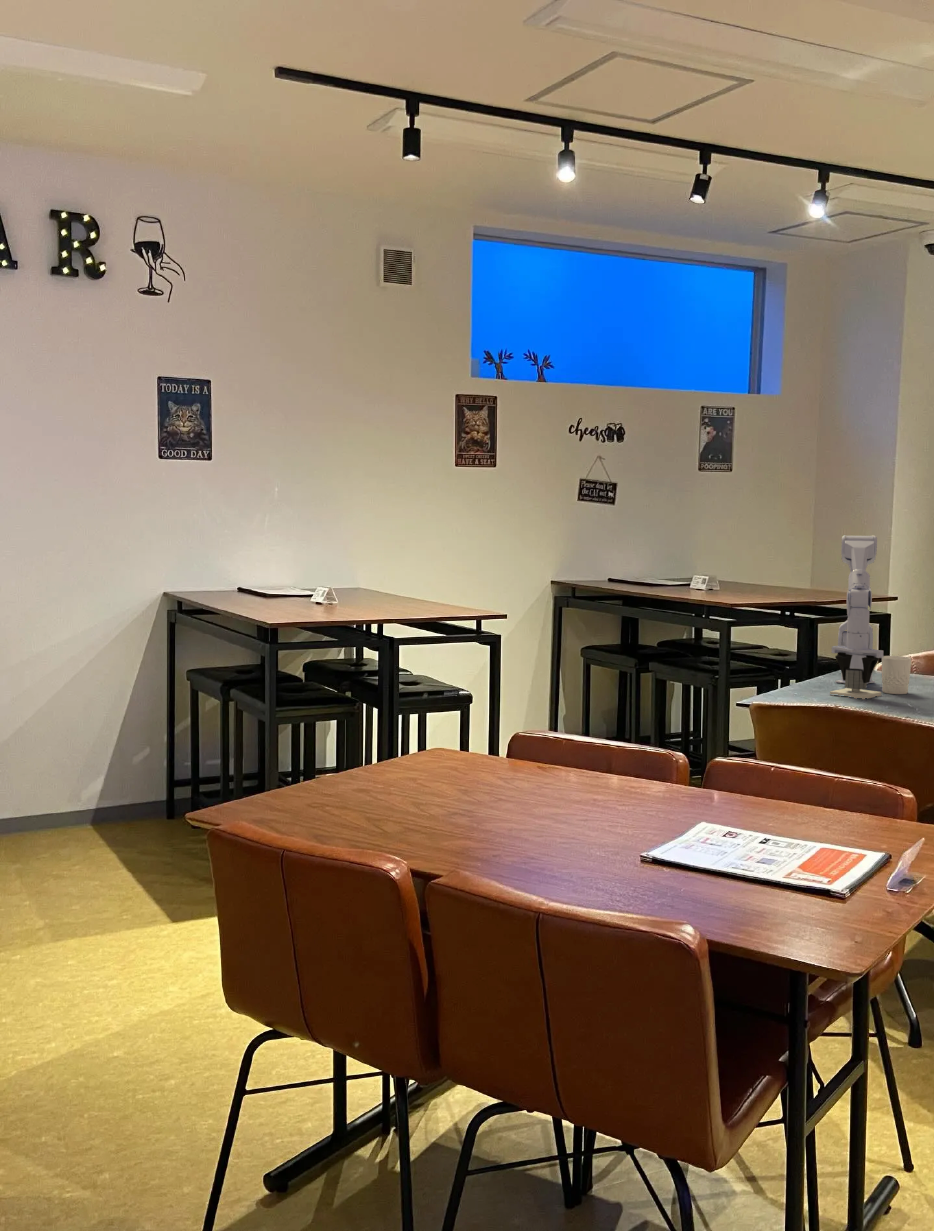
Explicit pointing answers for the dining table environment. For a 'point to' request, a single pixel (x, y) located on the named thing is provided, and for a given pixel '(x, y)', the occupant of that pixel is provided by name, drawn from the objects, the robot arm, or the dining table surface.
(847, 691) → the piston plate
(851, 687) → the ring
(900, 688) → the white cup
